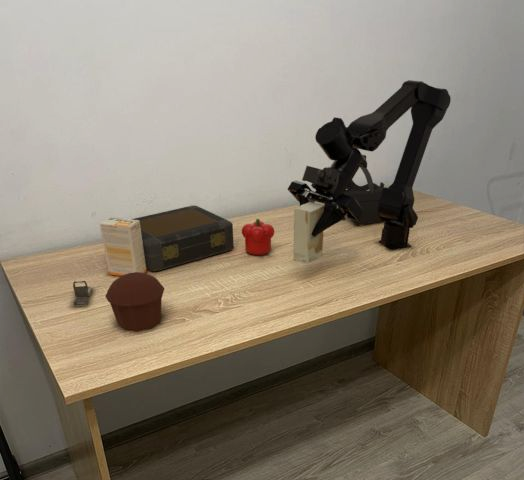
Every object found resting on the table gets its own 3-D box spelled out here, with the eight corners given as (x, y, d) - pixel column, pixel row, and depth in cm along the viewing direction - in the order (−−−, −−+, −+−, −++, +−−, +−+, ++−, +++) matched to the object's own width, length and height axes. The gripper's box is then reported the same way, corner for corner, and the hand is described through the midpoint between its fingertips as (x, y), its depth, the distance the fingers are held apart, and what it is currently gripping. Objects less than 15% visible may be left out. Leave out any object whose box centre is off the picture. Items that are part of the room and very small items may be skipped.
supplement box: (147, 271, 131) (140, 219, 124) (137, 279, 127) (129, 226, 120) (118, 267, 134) (110, 216, 127) (108, 274, 130) (98, 222, 123)
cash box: (196, 229, 156) (194, 203, 152) (236, 250, 142) (235, 222, 138) (117, 249, 143) (112, 221, 139) (152, 274, 130) (148, 244, 126)
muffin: (150, 302, 117) (144, 260, 112) (178, 321, 110) (173, 277, 105) (100, 320, 111) (92, 276, 105) (127, 341, 104) (119, 295, 98)
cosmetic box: (308, 265, 120) (309, 212, 113) (292, 260, 122) (293, 208, 115) (323, 255, 124) (325, 204, 117) (307, 251, 126) (309, 200, 120)
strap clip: (78, 290, 123) (75, 273, 120) (92, 289, 123) (88, 272, 121) (73, 307, 116) (69, 289, 113) (87, 306, 116) (83, 288, 114)
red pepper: (259, 244, 146) (259, 212, 141) (277, 252, 141) (277, 219, 136) (239, 251, 142) (238, 218, 137) (256, 259, 137) (256, 226, 132)
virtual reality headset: (347, 233, 157) (355, 184, 147) (313, 201, 173) (318, 155, 164) (402, 225, 162) (412, 177, 153) (363, 195, 179) (371, 150, 170)
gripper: (294, 143, 118) (257, 203, 118) (358, 158, 107) (318, 224, 107) (317, 172, 127) (283, 228, 127) (379, 189, 115) (342, 251, 115)
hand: (304, 232), depth 119 cm, fingers closed on cosmetic box, 5 cm apart
